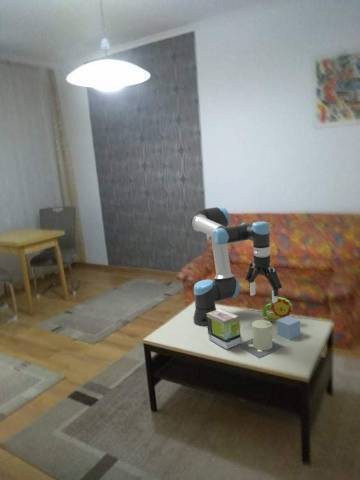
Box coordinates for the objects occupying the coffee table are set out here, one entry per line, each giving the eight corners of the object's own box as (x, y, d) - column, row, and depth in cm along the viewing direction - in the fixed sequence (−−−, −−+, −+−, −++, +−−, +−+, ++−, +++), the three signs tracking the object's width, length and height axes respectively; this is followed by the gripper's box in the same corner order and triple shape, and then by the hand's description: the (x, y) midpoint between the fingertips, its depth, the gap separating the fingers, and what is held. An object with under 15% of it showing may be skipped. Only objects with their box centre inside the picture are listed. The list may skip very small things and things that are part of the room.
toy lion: (262, 323, 200) (261, 297, 197) (264, 319, 205) (263, 294, 202) (291, 327, 193) (291, 300, 190) (293, 322, 198) (292, 296, 195)
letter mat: (236, 345, 179) (236, 344, 179) (260, 335, 187) (260, 334, 187) (259, 358, 166) (259, 357, 166) (283, 346, 174) (283, 346, 173)
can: (273, 350, 171) (272, 327, 168) (253, 350, 172) (251, 327, 170) (272, 341, 179) (271, 318, 177) (253, 341, 181) (252, 318, 179)
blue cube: (277, 334, 186) (276, 320, 185) (288, 329, 190) (287, 315, 189) (289, 340, 180) (288, 325, 178) (300, 335, 184) (299, 320, 182)
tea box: (242, 343, 180) (240, 315, 177) (226, 350, 175) (224, 321, 172) (223, 333, 193) (220, 307, 190) (207, 339, 188) (205, 312, 185)
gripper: (237, 252, 175) (239, 294, 179) (277, 261, 155) (279, 307, 159) (248, 249, 179) (249, 290, 184) (289, 257, 159) (290, 303, 163)
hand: (263, 298), depth 171 cm, fingers open, 13 cm apart
